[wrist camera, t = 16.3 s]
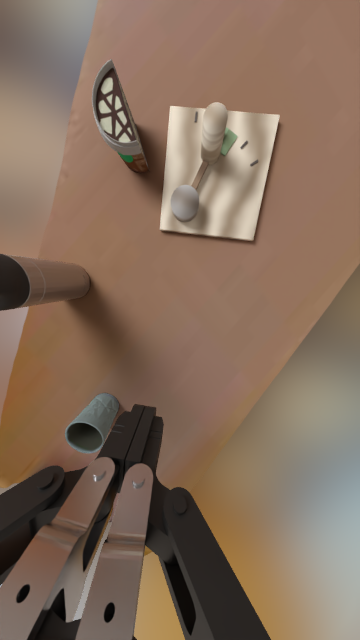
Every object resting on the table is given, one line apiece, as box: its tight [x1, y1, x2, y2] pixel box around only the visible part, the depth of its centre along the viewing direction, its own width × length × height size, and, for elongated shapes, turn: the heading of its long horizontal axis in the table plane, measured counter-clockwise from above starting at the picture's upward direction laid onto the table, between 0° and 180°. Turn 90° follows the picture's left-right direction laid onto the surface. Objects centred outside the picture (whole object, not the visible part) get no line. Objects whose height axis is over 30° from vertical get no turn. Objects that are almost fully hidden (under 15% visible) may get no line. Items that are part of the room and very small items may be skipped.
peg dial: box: [171, 102, 228, 222], centre depth 32 cm, size 18×6×8 cm, turn 152°
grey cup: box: [65, 393, 119, 453], centre depth 49 cm, size 10×10×12 cm
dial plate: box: [160, 106, 280, 241], centre depth 37 cm, size 22×23×1 cm
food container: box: [92, 59, 149, 173], centre depth 33 cm, size 12×6×10 cm, turn 18°
